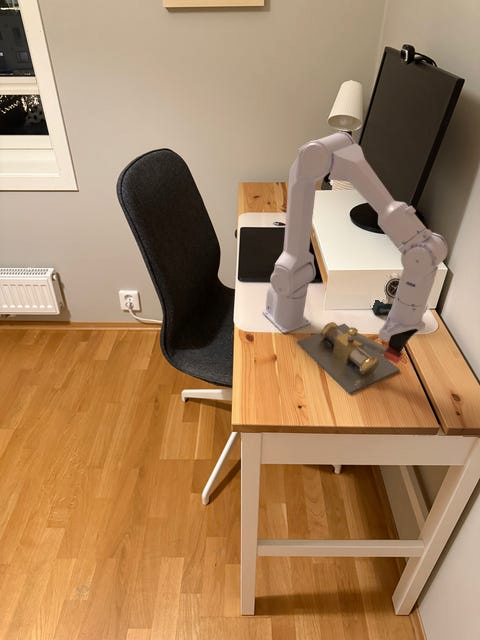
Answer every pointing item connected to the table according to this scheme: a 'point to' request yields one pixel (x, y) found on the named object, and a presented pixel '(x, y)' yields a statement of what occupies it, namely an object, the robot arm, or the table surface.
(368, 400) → the table surface
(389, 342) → the robot arm
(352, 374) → the valve
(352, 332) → the lever
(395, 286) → the watch
